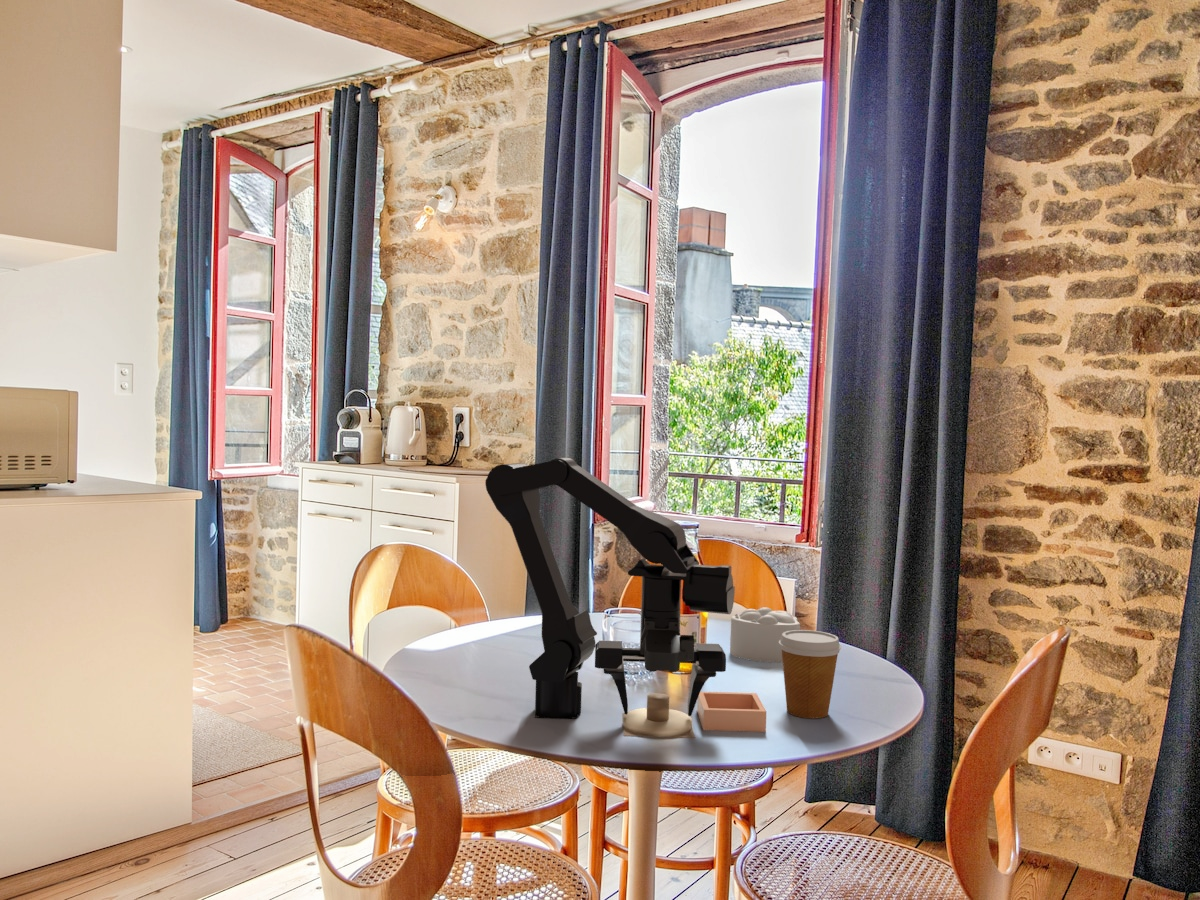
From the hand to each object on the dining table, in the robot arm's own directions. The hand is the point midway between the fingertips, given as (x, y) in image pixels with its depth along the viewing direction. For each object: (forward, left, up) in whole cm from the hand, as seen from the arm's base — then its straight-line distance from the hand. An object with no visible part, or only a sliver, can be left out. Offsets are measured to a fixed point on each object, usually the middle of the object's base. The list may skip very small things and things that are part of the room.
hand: (657, 714), depth 135 cm
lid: (0, 0, -2) cm, 2 cm away
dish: (+11, +3, -2) cm, 12 cm away
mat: (0, 0, -2) cm, 2 cm away
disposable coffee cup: (+24, +10, -2) cm, 26 cm away
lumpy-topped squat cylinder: (+23, +46, -2) cm, 51 cm away
